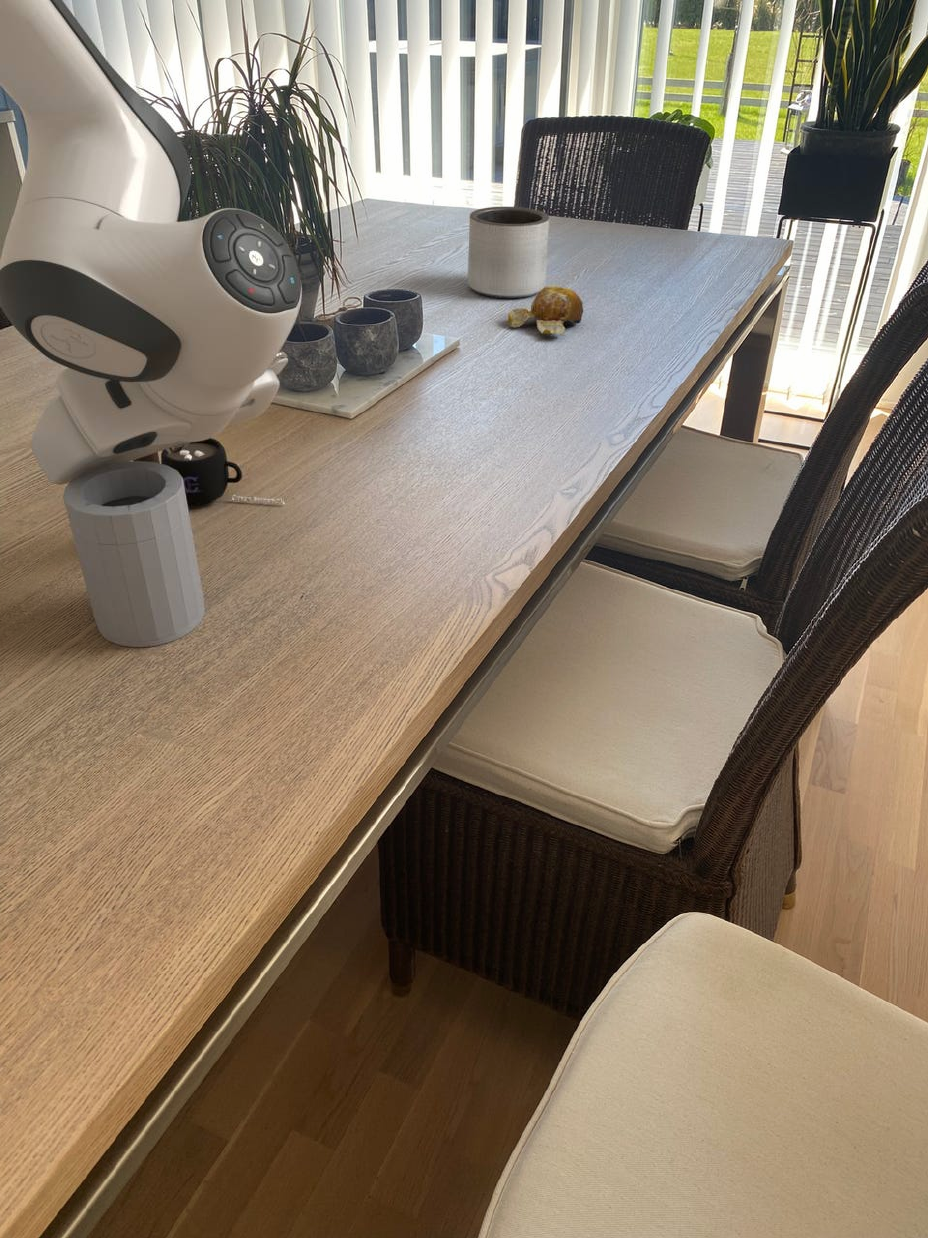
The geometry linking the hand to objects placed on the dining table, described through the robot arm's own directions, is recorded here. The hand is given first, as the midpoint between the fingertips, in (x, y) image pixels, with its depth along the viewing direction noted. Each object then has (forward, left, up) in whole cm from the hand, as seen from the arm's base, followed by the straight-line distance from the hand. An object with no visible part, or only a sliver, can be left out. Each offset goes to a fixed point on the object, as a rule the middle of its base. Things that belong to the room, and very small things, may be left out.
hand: (140, 455), depth 83 cm
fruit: (+63, +30, -11) cm, 71 cm away
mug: (+8, +4, -9) cm, 13 cm away
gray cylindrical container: (-4, -12, -9) cm, 15 cm away
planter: (+71, +50, -9) cm, 88 cm away
